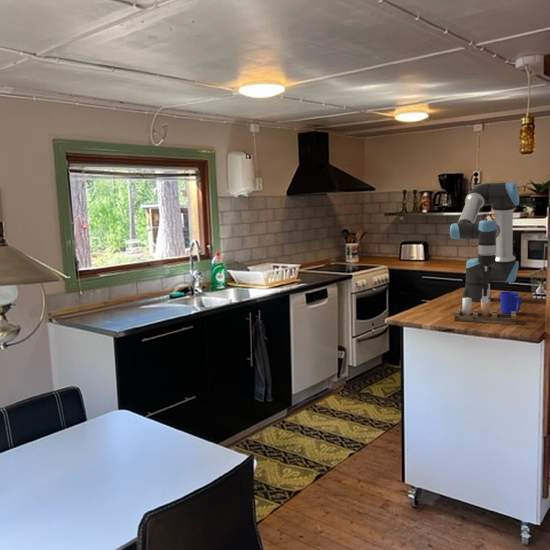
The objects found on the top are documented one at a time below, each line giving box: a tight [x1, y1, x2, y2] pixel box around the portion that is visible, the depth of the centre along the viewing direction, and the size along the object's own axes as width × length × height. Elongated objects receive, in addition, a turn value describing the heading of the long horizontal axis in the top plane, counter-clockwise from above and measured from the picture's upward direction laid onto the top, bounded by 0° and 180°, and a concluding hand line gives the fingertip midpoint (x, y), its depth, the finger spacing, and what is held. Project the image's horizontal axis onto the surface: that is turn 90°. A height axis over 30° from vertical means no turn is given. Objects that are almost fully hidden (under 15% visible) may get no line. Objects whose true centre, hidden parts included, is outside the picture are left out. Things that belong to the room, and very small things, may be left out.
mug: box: [499, 291, 522, 314], centre depth 262 cm, size 8×12×10 cm
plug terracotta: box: [480, 299, 491, 317], centre depth 250 cm, size 4×4×9 cm
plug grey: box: [461, 297, 473, 316], centre depth 253 cm, size 4×4×9 cm
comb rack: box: [454, 307, 517, 326], centre depth 250 cm, size 10×26×4 cm, turn 66°
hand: (485, 300), depth 249 cm, fingers open, 13 cm apart
